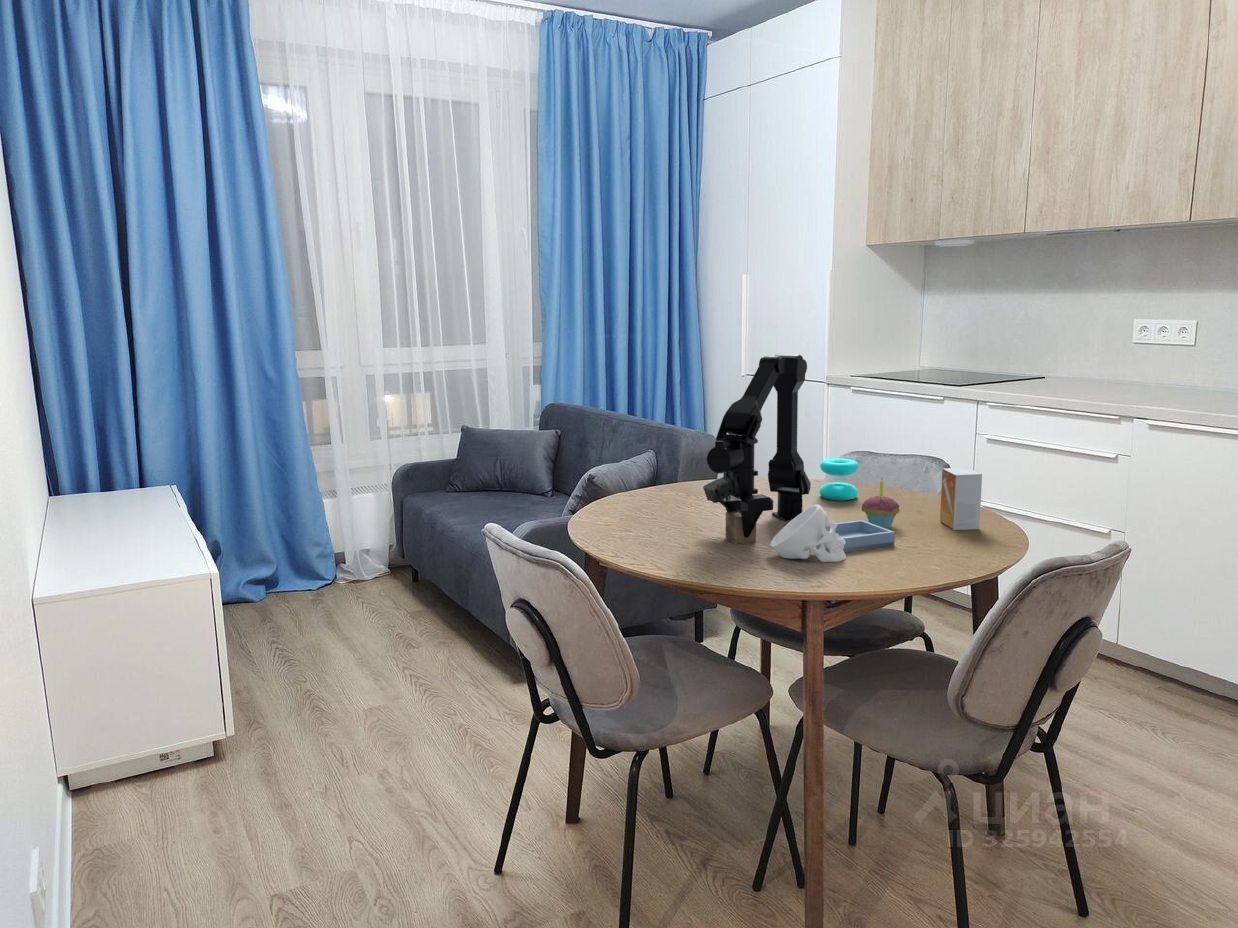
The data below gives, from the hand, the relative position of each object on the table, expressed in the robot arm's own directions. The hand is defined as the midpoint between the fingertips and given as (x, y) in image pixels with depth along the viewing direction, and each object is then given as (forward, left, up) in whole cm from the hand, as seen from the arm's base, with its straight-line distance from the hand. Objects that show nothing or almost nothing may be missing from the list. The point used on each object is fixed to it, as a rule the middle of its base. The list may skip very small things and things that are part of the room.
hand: (740, 534), depth 203 cm
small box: (+10, +52, -2) cm, 53 cm away
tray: (+12, +21, -1) cm, 24 cm away
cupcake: (+3, +35, -2) cm, 35 cm away
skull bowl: (+18, +6, -2) cm, 19 cm away
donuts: (-27, +44, -2) cm, 52 cm away
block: (0, 0, -1) cm, 1 cm away
